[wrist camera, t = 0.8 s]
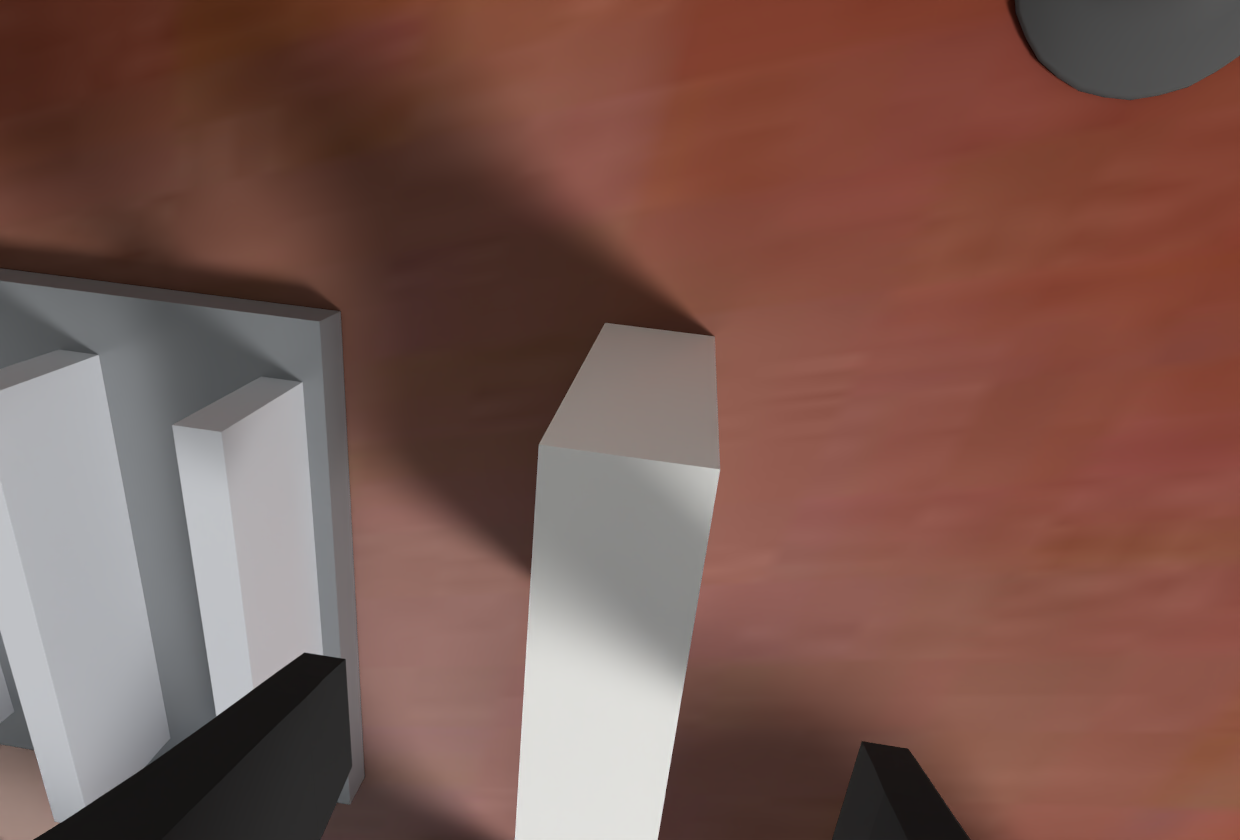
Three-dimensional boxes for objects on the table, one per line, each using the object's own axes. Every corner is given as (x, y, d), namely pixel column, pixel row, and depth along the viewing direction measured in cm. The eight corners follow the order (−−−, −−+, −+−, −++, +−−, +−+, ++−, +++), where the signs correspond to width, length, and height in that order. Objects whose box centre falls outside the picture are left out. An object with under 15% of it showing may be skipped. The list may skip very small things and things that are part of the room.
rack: (364, 777, 22) (297, 903, 19) (-133, 692, 24) (-288, 796, 20) (340, 311, 17) (237, 361, 13) (-313, 229, 18) (-577, 253, 14)
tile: (670, 623, 19) (652, 872, 13) (578, 609, 19) (514, 847, 13) (714, 335, 16) (719, 468, 10) (605, 322, 16) (538, 444, 10)
